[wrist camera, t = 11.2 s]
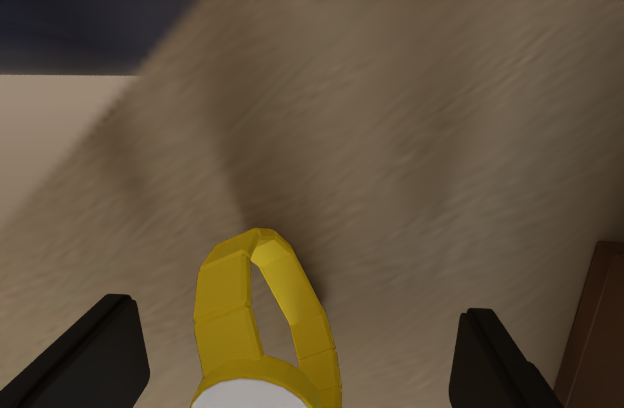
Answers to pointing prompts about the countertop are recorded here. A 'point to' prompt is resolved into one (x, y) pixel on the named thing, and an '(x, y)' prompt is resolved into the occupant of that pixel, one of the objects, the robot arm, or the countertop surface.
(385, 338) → the countertop surface
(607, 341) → the cabinet
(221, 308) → the watch
